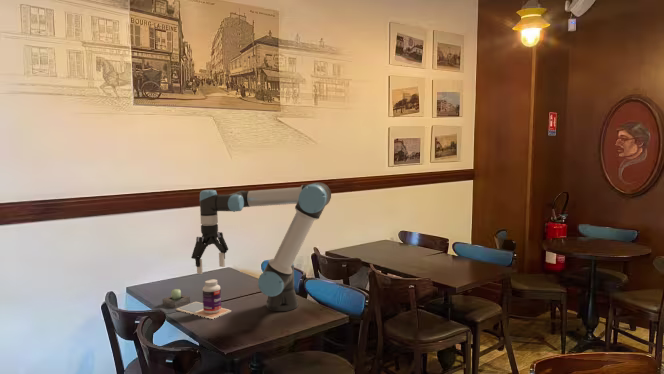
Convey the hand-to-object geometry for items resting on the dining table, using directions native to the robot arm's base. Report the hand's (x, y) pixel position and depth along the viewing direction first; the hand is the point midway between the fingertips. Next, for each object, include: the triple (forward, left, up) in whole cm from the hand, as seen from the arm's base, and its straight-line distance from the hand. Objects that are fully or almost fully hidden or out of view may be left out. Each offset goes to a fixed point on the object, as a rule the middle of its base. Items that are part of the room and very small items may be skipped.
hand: (211, 269), depth 218 cm
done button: (+25, 0, -18) cm, 31 cm away
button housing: (+25, 0, -20) cm, 32 cm away
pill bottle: (0, 0, -20) cm, 20 cm away
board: (+6, 0, -20) cm, 21 cm away
